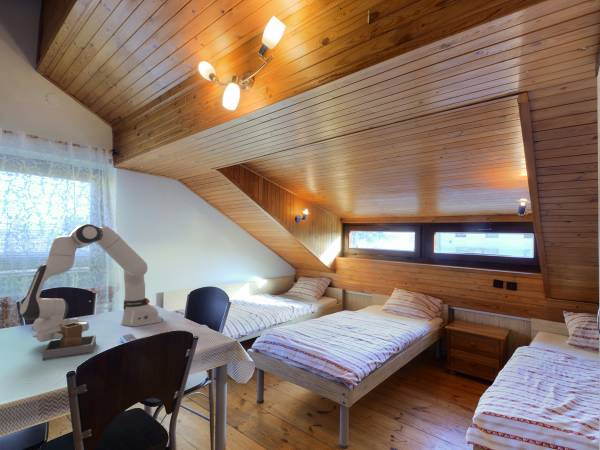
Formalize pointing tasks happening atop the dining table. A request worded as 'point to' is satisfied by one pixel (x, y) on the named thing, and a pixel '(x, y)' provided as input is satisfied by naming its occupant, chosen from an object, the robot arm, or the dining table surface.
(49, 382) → the dining table surface
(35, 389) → the dining table surface
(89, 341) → the grey crate
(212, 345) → the dining table surface
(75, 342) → the walnut crate
